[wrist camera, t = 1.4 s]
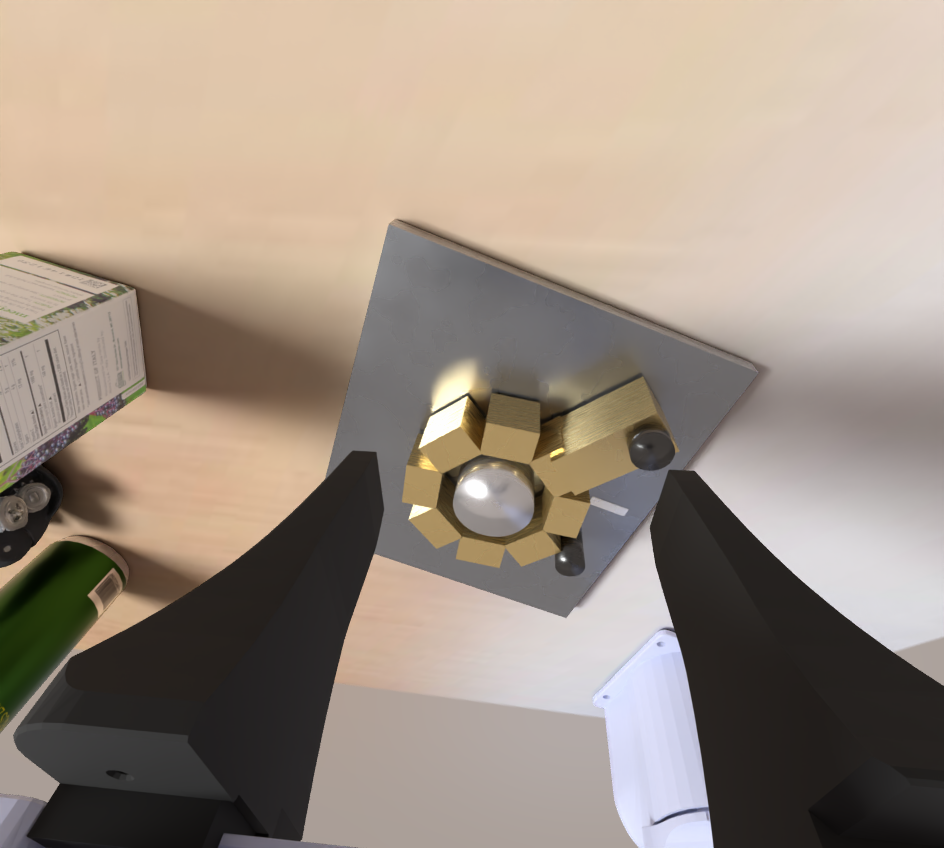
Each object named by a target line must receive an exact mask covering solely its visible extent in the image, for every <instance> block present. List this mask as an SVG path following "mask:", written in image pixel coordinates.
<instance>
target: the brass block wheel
mask: <svg viewBox="0 0 944 848" xmlns="http://www.w3.org/2000/svg"><path fill="white" fill-rule="evenodd" d="M676 452H679V449H678V446H677V444H676V441H675V439H674V436H673V434H672V431H671V429H670V426H669V424H668V422H667V419H666V417H665V414H664V412H663V410H662V408H661V406H660V405H659V403H658V401H657V399H656V398H655V396H654V394H653V392H652V391H651V389H650V387H649V386H648V384H647V382H646V380H645V379H644V377H643V376H642V377H640V378H638V379H636V380H634V381H632V382H630V383H628V384H626V385H624V386H622V387H620V388H618V389H616V390H614V391H612V392H610V393H608V394H606V395H604V396H602V397H600V398H598V399H596V400H594V401H592V402H590V403H588V404H586V405H584V406H582V407H580V408H578V409H576V410H574V411H572V412H570V413H568V414H566V415H564V416H562V417H561V416H558V417H556V418H554V419H552V420H550V421H548V422H546V423H544V424H542V425H540V403H539V402H534V401H529V400H524V399H519V398H515V397H510V396H505V395H500V394H495V393H491V398H490V402H489V407H488V411H487V416H486V419H485V418H484V417H483V415H482V414H481V413H480V411H479V410H478V409H477V408H476V406H475V405H474V404H473V402H472V401H471V400H470V399H469V397H468V396H467V397H465V398H463V399H462V400H460V401H458V402H456V403H454V404H453V405H451V406H449V407H447V408H446V409H444V410H442V411H440V412H438V413H437V414H435V415H433V416H431V417H430V418H429V420H428V423H427V426H426V429H425V432H424V435H423V434H419V433H418V435H417V438H416V441H415V443H414V446H413V449H412V452H411V454H410V457H409V460H408V462H407V465H406V473H405V481H404V489H403V497H402V502H404V503H409V504H413V507H412V511H411V514H410V517H409V521H410V522H411V523H412V524H413V525H414V526H415V527H416V528H417V529H418V530H419V531H420V532H421V533H422V534H423V535H424V536H425V537H426V538H427V539H428V540H429V542H430V543H431V544H432V545H433V546H434V547H435V548H436V549H438V548H440V547H442V546H445V545H447V544H449V543H451V542H454V541H456V540H458V539H459V544H458V549H457V555H456V559H458V560H463V561H468V562H473V563H477V564H482V565H487V566H492V567H496V568H500V564H501V561H502V558H503V554H504V551H505V548H506V549H507V551H508V552H509V553H510V554H511V555H512V556H513V557H514V559H515V560H516V561H517V562H518V563H519V564H520V566H521V567H522V566H525V565H527V564H530V563H533V562H535V561H538V560H541V559H543V558H546V557H548V556H551V555H554V554H556V553H559V552H561V537H560V535H562V536H567V537H571V538H577V535H578V533H579V530H580V528H581V526H582V523H583V521H584V518H585V516H586V514H587V511H588V509H589V506H590V504H591V503H590V495H589V489H591V488H594V487H596V486H599V485H601V484H603V483H606V482H608V481H610V480H613V479H615V478H617V477H620V476H622V475H625V474H627V473H629V472H632V471H634V470H636V469H642V470H646V471H655V470H659V469H662V468H664V467H666V466H667V465H669V464H670V463H671V461H672V460H673V458H674V456H675V453H676ZM481 454H482V455H487V456H492V457H497V458H501V459H506V460H511V461H516V462H521V463H525V464H529V465H530V466H531V467H532V469H533V470H534V471H535V472H536V474H537V475H538V476H539V478H540V479H541V480H542V482H543V483H544V484H545V488H544V491H543V494H542V495H540V496H538V497H536V498H534V513H533V517H532V519H531V521H530V522H529V523H528V525H527V526H526V527H525V528H523V529H522V530H520V531H519V532H517V533H514V534H511V535H507V536H501V537H493V536H486V535H482V534H478V533H476V532H474V531H472V530H470V529H468V528H467V527H466V526H464V525H463V524H462V523H461V522H460V521H459V519H458V518H457V516H456V514H455V512H454V509H453V499H454V494H455V489H456V487H455V486H454V484H453V483H452V482H451V481H450V480H449V479H448V478H447V476H446V475H445V472H447V471H449V470H451V469H453V468H455V467H457V466H459V465H461V464H463V463H465V462H467V461H469V460H471V459H473V458H475V457H477V456H479V455H481Z"/></svg>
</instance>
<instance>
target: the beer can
mask: <svg viewBox="0 0 944 848" xmlns="http://www.w3.org/2000/svg"><path fill="white" fill-rule="evenodd" d="M128 577H129V568H128V565H127V563H126V561H125V560H124V559H123V558H122V557H121V555H120V554H119V553H117V552H116V551H115V550H114V549H112V548H111V547H109V546H108V545H106V544H104V543H102V542H100V541H98V540H95V539H92V538H89V537H84V536H69V537H67V538H64V539H61V540H59V541H56V542H54V543H53V544H51V545H49V546H48V547H47V548H46V549H45V550H43V551H42V552H41V553H40V554H39V555H38V556H37V557H36V558H34V559H33V560H32V561H31V562H30V563H29V564H28V565H27V566H26V567H24V568H23V569H22V570H21V571H20V572H19V573H18V574H17V575H16V576H14V577H13V578H12V579H11V580H10V581H9V582H8V583H7V584H5V585H4V586H3V587H2V588H1V589H0V733H1V732H2V731H3V730H4V728H5V727H6V726H7V725H8V724H9V723H10V721H11V720H12V719H13V718H14V717H15V716H16V714H17V713H18V712H19V711H20V710H21V709H22V707H23V706H24V705H25V704H26V703H27V701H28V700H29V699H30V698H31V697H32V696H33V695H34V694H35V692H36V691H37V690H38V689H39V688H40V687H41V685H42V684H43V683H44V682H45V681H46V680H47V678H48V677H49V676H50V675H51V674H52V672H53V671H54V670H55V669H56V668H57V667H58V666H59V664H60V663H61V662H62V661H63V660H64V659H65V657H66V656H67V655H68V654H69V653H70V652H71V650H72V649H73V648H74V647H75V646H76V645H77V643H78V642H79V641H80V640H81V639H82V638H83V636H84V635H85V634H86V633H87V632H88V631H89V629H90V628H91V627H92V626H93V625H94V624H95V623H96V621H97V620H98V619H99V618H100V617H101V616H102V614H103V613H104V612H105V611H106V610H107V609H108V607H109V606H110V605H111V604H112V603H113V602H114V600H115V599H116V598H117V597H118V596H119V595H120V593H121V592H122V591H123V590H124V588H125V587H126V584H127V581H128Z"/></svg>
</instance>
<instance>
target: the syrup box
mask: <svg viewBox="0 0 944 848" xmlns="http://www.w3.org/2000/svg"><path fill="white" fill-rule="evenodd" d="M146 387H147V383H146V373H145V364H144V355H143V345H142V338H141V328H140V321H139V313H138V306H137V297H136V290H135V289H134V288H133V287H129V286H127V285H124V284H120V283H117V282H114V281H110V280H107V279H103V278H100V277H96V276H94V275H90V274H87V273H83V272H80V271H77V270H73V269H70V268H67V267H64V266H60V265H57V264H54V263H51V262H47V261H44V260H41V259H37V258H34V257H32V256H28V255H25V254H21V253H17V252H8V253H4V254H0V493H1V492H3V491H4V490H5V489H7V488H8V487H10V486H11V485H13V484H14V483H15V482H17V481H18V480H20V479H21V478H23V477H24V476H25V475H27V474H28V473H30V472H31V471H33V470H34V469H35V468H37V467H38V466H39V465H41V464H42V463H44V462H45V461H47V460H48V459H50V458H51V457H53V456H54V455H55V454H57V453H58V452H59V451H61V450H62V449H64V448H65V447H66V446H68V445H69V444H71V443H72V442H74V441H75V440H77V439H78V438H79V437H81V436H82V435H84V434H85V433H87V432H88V431H90V430H91V429H93V428H94V427H96V426H97V425H98V424H100V423H101V422H103V421H104V420H105V419H107V418H108V417H110V416H111V415H113V414H114V413H115V412H117V411H118V410H120V409H121V408H123V407H124V406H126V405H127V404H128V403H130V402H131V401H133V400H134V399H136V398H137V397H139V396H140V395H142V394H143V393H144V392H145V391H146Z"/></svg>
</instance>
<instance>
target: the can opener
mask: <svg viewBox="0 0 944 848" xmlns="http://www.w3.org/2000/svg"><path fill="white" fill-rule="evenodd" d="M62 498H63V488H62V485H61V483H60V482H59V480H58V479H57V478H56V477H55V476H54V475H53V474H52V473H51V472H50V471H48V470H47V469H46V468H44V467H43V466H41V465H39V466H38V467H37V468H35V469H34V470H33V471H31V472H30V473H28V474H27V475H25V476H24V477H23V478H21V479H20V480H18V481H17V482H15V483H14V484H13V485H11V486H10V487H8V488H7V489H5V490H4V491H3V492H1V493H0V568H2V567H6V566H8V565H11V564H13V563H15V562H17V561H19V560H20V559H22V558H23V556H25V555H26V553H27V552H28V551H29V550H30V548H31V547H33V546H35V545H36V543H37V542H38V541H39V540H40V538H41V537H42V536H43V534H44V532H45V530H46V529H47V527H48V524H49V522H50V520H51V519H52V517H53V515H54V514H55V513H56V511H57V510H58V508H59V507H60V505H61V502H62Z"/></svg>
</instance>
